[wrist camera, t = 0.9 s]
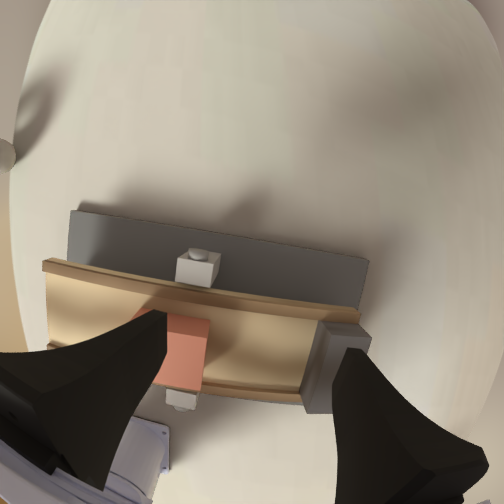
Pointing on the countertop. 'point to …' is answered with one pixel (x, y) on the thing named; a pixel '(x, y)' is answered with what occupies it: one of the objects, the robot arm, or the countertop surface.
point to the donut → (6, 156)
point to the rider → (183, 351)
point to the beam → (215, 330)
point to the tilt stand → (214, 266)
